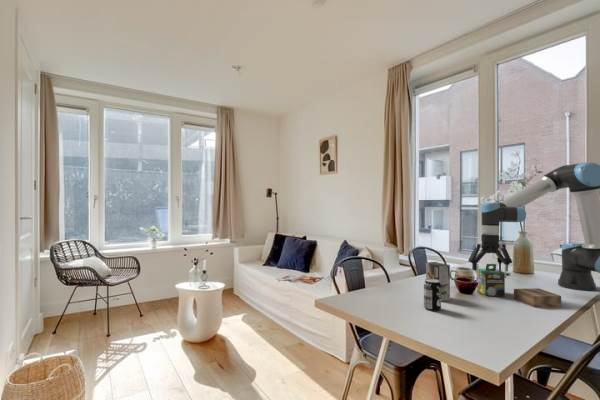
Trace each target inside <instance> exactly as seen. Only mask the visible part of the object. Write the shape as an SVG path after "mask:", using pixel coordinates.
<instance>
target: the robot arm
mask: <svg viewBox="0 0 600 400" xmlns="http://www.w3.org/2000/svg"><path fill="white" fill-rule="evenodd" d="M567 188H568V189H569V192H570V194H572V195H574V198H575V202H576V206H577V207H576V208H577V212H578V217H579V222H580V226H581V231H582V236H583V241H584V243H563V244H562V245H561V246H562V247H561V273H560V276H559V278H558V279H557V285H558V286H560V287H564V288H566V289H571V290H579V291H596V290H597V284H596V282H595V279H594V278H593V274H592V272H595V273H598V274H600V195H599V192H600V164H598V163H596V162H591V161H587V162H585V161H584V162H580V163H574V164H573V163H571V164H566V165H562V166H561V165H560V166H559V167H556V168H554V169H552V170H551V171H549V172H548V173H545V174H544V175H542V176H540V177H539V180H537V181H536V182H534V183H532V184H530V185H528V186H527V187H526V188H524V189H521V190H520V191H518V192H517V193H515V194H512V195H511V196H509V197H507V198H506V199H504V200H501V201H500V202H483V203H482V205H481V210H480V212H481V233H482V234H481V243H475V244H474V247H473V250H472V252H471V254H470V256H469V258H468V261H467V262H469V263H471V265H472V266H471V267H472V271H473V277H475V278H476V279H477V278H479V269H480V268H479V266H480V264H478V263H479V262H480V260H481V259H482V258H483V257H485V255H487V254H495V255H496V256H497V257H498V259H499V260H500V261H501V262H502V263H501V264H500V266H501V267H500V268H501V269H500V271H502V272H504V273H505V279H507V272H508V271H509V265H511V264H512V263H513V261H512V258H511V257H510V256H511V255H510V254H509V252H508V250H507V246H506V244H505V243H500V235H499V234H500V223H516V224H517V223H522V222H524V221H525V220H526V218H527V211H526V210H525V208H524V207H525V206H527V205H529V204H530V203H532V202H534V201H536V200H538V199H539V198H541V197H543V196H544V195H547V194H549V193H554V192H556V191H559V190H562V189H567ZM499 243H500V244H499ZM499 249H500V250H499Z"/></svg>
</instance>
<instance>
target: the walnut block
mask: <svg viewBox="0 0 600 400" xmlns="http://www.w3.org/2000/svg"><path fill="white" fill-rule="evenodd" d="M513 299H514V300H515V301H517V302H520V303H522V304H524V305H525V304H526V305H527V306H530V307H533V308H562V296H561V295H560V294H557V293H555V292H554V293H553V292H551V291H547V290H544V289H542V288H537V287H535V288H513Z"/></svg>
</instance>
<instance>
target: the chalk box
mask: <svg viewBox="0 0 600 400" xmlns="http://www.w3.org/2000/svg"><path fill="white" fill-rule="evenodd" d="M485 265H486V266H485V268H479V278H476V285H477V283H478V285H477V286H476V287H477V288H476V289H477V292H479V293H481V294H482V295H484V296H485V297H488V296H489V297H506V295H505V294H506V289H505V285H506V280H505V279H506V278H505V273H504V272H502V271H501V269H500V270H499V269H497V264H496V263H486V264H485ZM489 267H492V268H489Z"/></svg>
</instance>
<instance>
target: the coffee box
mask: <svg viewBox="0 0 600 400" xmlns="http://www.w3.org/2000/svg"><path fill="white" fill-rule="evenodd" d="M450 269H451V267H450V264H445V263H441V262H438V261H431V262H430V261H429V262H425V271H426V272H425V277H426V278H425V279H437V280H439V281H440V284H441V302H447V301H451V279H450V278H451V277H450V275H451V273H450V272H451V270H450Z"/></svg>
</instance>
